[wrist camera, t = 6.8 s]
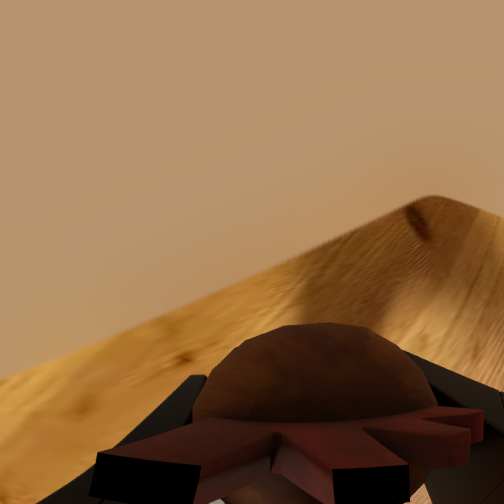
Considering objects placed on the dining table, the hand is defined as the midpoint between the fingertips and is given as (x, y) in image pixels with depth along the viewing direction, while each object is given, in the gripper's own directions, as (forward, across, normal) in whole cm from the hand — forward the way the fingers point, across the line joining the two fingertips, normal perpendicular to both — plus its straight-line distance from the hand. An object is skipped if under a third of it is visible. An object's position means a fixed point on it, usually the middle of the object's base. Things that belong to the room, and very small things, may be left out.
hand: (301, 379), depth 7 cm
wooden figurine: (+5, 0, +6) cm, 8 cm away
